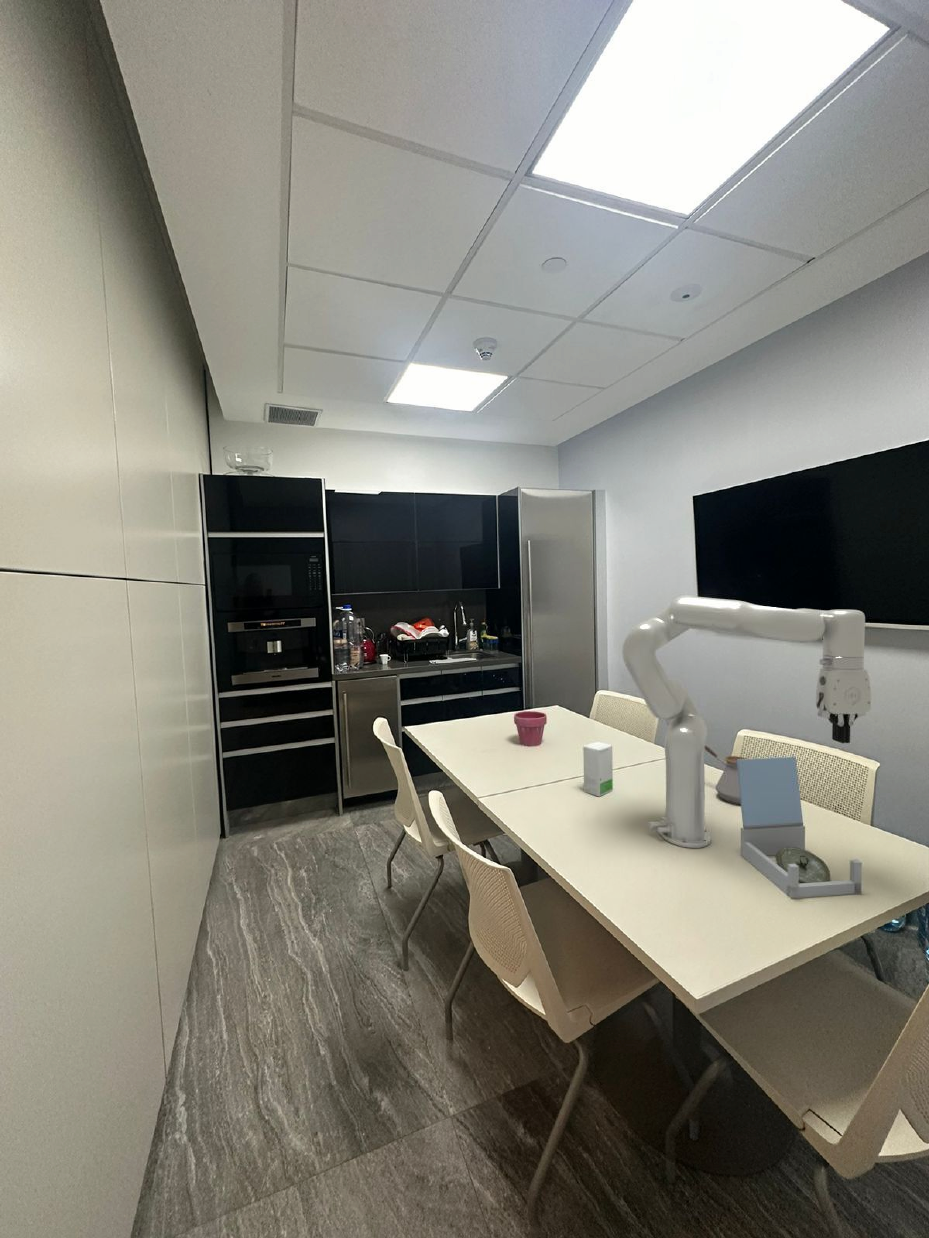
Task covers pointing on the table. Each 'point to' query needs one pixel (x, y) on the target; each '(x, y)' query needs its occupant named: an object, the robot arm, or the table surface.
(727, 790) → the coffee pot
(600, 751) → the skincare box
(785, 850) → the lid
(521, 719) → the plant pot
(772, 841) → the low-walled grey tray
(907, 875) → the table surface
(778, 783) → the cover
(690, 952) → the table surface
